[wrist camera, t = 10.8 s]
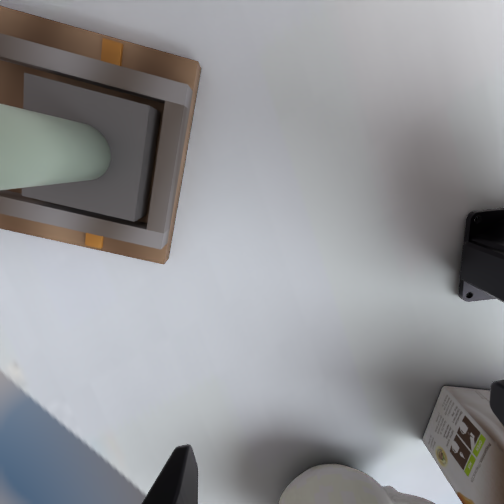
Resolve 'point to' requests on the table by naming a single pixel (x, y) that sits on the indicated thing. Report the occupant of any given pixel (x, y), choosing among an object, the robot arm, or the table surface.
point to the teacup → (342, 488)
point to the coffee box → (468, 444)
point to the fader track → (115, 84)
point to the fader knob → (79, 148)
